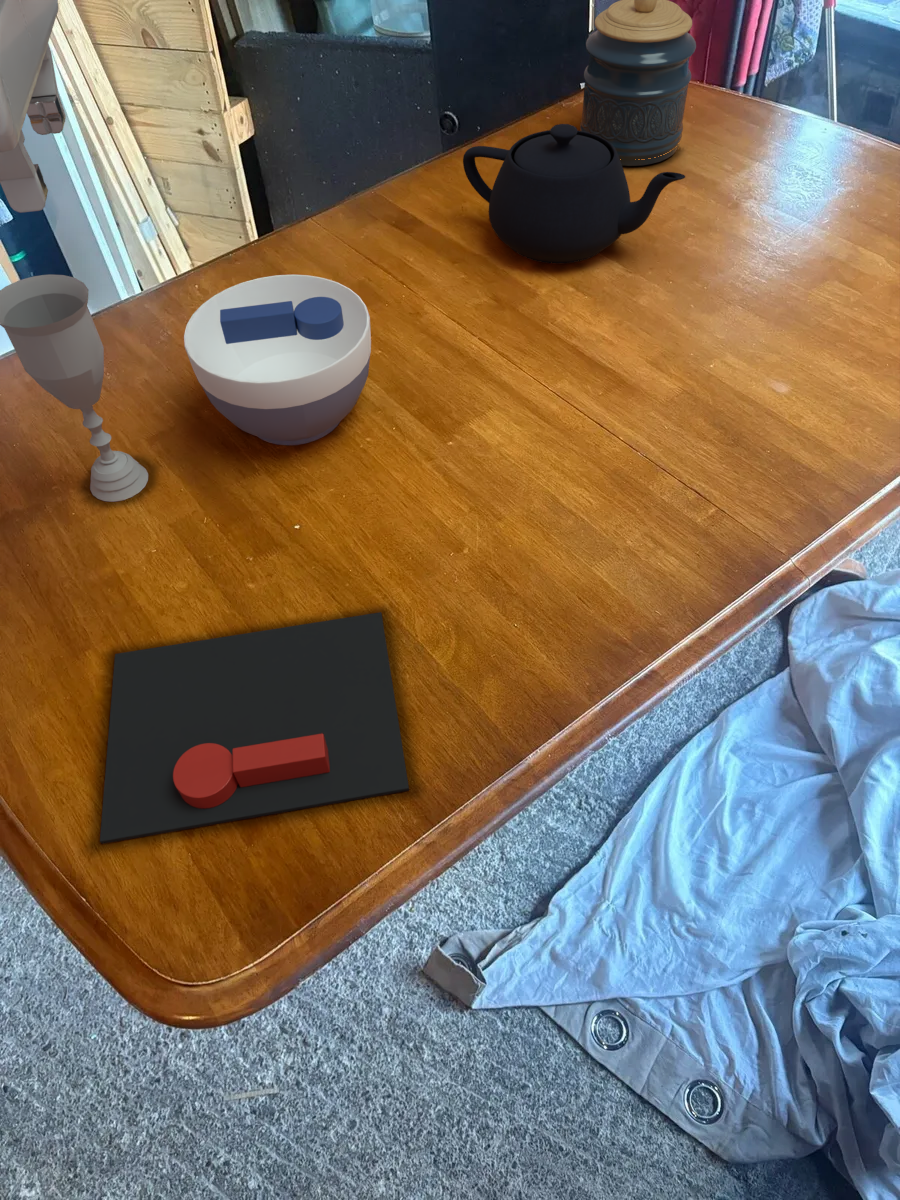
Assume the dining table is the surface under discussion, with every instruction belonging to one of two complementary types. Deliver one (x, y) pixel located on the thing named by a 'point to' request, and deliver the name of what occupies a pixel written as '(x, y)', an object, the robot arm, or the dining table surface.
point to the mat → (251, 721)
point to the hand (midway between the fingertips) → (42, 165)
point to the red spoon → (245, 767)
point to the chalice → (68, 366)
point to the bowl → (282, 362)
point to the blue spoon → (283, 320)
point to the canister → (638, 78)
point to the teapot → (561, 194)
